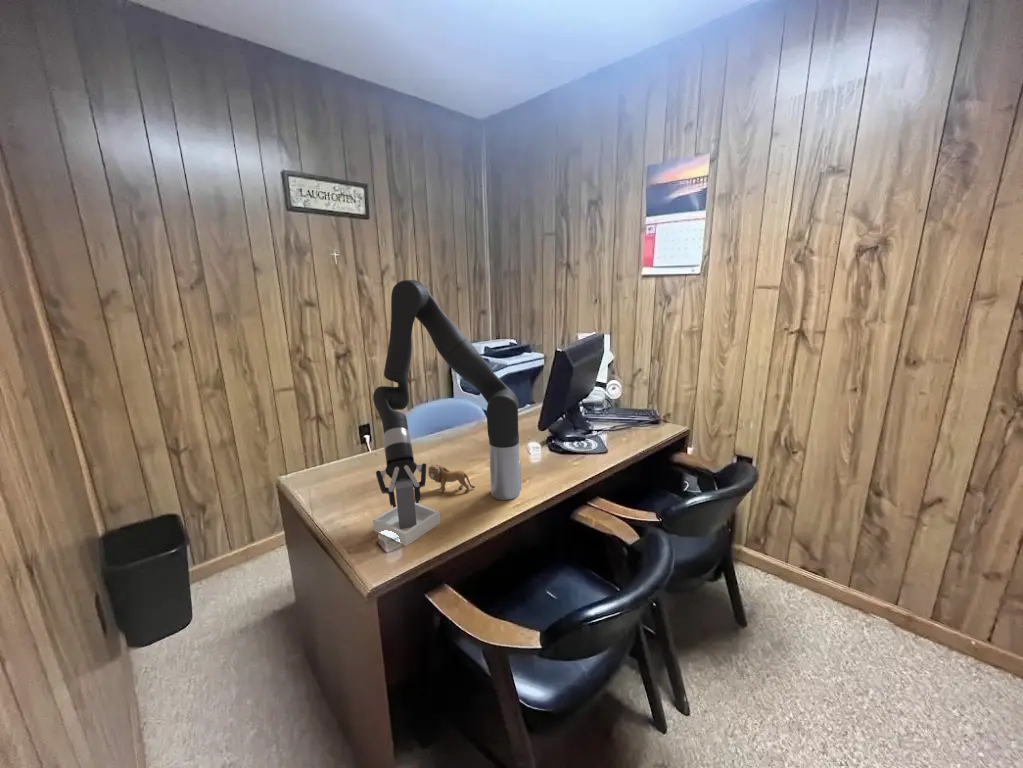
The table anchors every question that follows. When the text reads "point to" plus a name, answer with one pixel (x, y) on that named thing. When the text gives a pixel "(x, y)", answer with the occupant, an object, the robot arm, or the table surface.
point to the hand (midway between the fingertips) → (406, 504)
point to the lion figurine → (448, 476)
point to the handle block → (405, 503)
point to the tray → (424, 523)
